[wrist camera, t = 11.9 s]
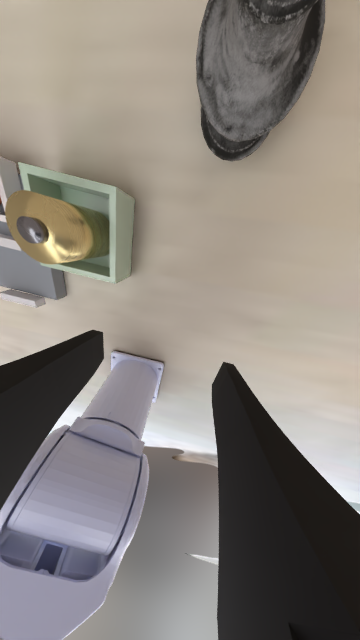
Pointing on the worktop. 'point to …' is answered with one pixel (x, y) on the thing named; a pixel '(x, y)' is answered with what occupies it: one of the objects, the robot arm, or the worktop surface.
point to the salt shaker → (253, 68)
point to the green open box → (96, 198)
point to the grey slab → (22, 255)
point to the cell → (56, 228)
